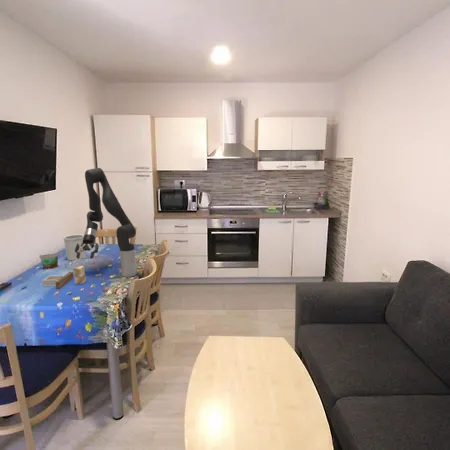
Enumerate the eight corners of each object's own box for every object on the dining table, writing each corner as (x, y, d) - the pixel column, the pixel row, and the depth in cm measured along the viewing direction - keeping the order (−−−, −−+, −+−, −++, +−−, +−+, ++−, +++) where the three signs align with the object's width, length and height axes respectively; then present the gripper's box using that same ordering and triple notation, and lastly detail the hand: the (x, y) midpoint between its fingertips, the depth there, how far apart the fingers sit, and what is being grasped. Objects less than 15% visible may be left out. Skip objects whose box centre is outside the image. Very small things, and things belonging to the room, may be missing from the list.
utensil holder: (81, 260, 243) (79, 238, 239) (62, 261, 243) (59, 238, 240) (90, 255, 257) (87, 234, 254) (71, 255, 258) (69, 234, 254)
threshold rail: (73, 277, 207) (72, 271, 206) (59, 288, 190) (58, 282, 189) (70, 277, 207) (69, 271, 206) (56, 288, 190) (55, 282, 189)
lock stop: (85, 281, 201) (83, 266, 199) (82, 283, 196) (80, 268, 194) (78, 281, 201) (76, 266, 199) (75, 284, 196) (73, 268, 194)
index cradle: (63, 280, 203) (62, 275, 202) (56, 285, 194) (55, 280, 194) (50, 280, 203) (49, 275, 202) (43, 286, 194) (42, 280, 193)
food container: (38, 270, 223) (36, 256, 221) (41, 267, 229) (39, 254, 227) (58, 268, 226) (56, 254, 224) (60, 265, 232) (58, 252, 230)
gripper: (77, 234, 211) (71, 255, 202) (98, 233, 211) (93, 255, 202) (81, 239, 217) (75, 261, 208) (102, 239, 217) (97, 260, 208)
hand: (84, 258), depth 205 cm, fingers open, 8 cm apart
